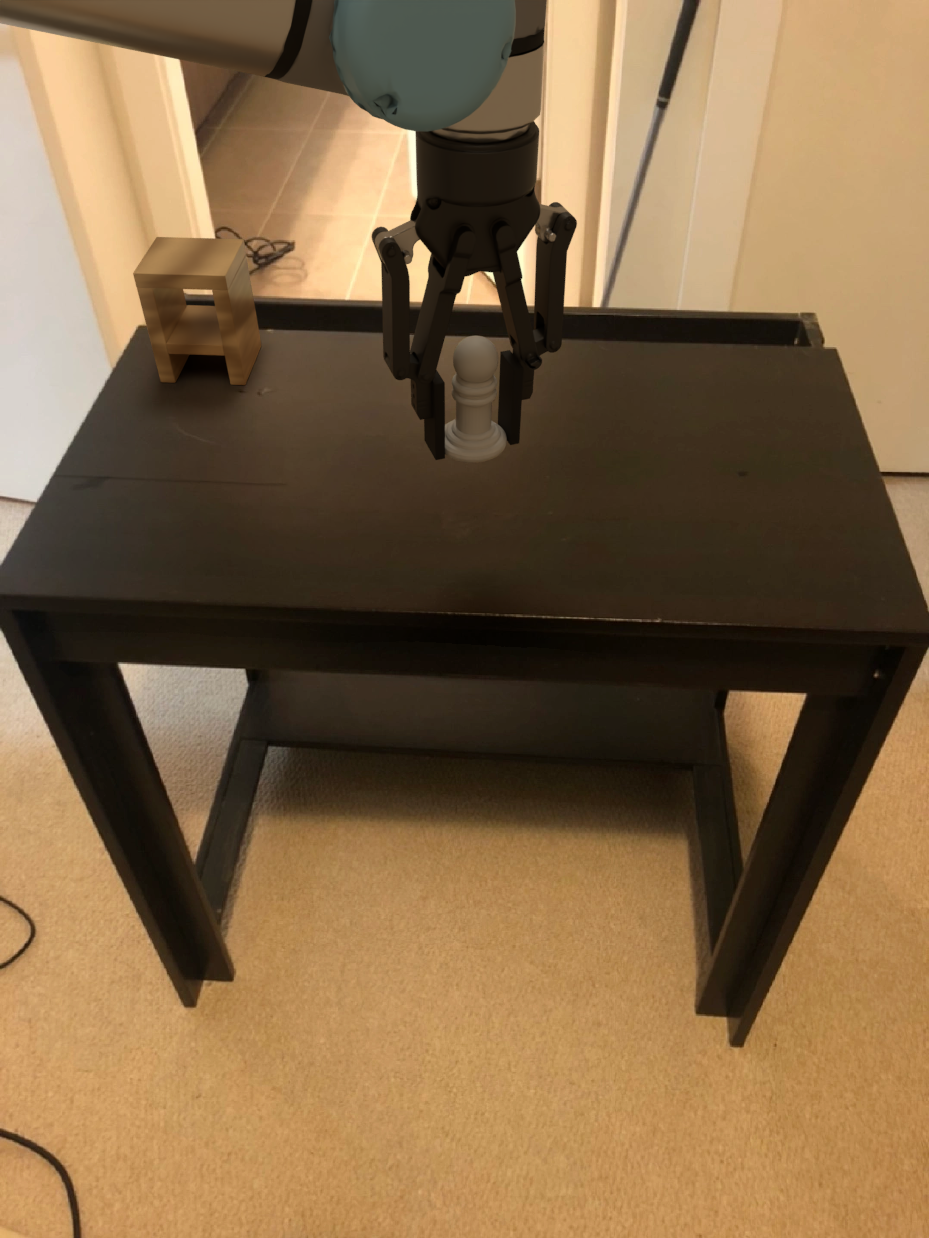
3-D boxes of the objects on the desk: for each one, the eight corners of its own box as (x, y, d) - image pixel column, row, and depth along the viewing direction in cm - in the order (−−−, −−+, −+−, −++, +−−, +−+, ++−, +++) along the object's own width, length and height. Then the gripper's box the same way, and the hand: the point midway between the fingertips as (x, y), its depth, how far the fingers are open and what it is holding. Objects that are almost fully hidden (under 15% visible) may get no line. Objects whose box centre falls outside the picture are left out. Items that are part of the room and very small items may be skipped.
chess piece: (507, 426, 77) (512, 321, 71) (506, 467, 74) (511, 360, 67) (439, 424, 78) (438, 319, 71) (435, 464, 74) (433, 357, 67)
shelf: (160, 382, 103) (132, 273, 94) (181, 343, 108) (156, 236, 100) (245, 385, 102) (225, 276, 94) (261, 346, 108) (243, 239, 99)
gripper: (590, 85, 64) (561, 395, 80) (313, 115, 59) (343, 437, 76) (642, 124, 59) (601, 446, 75) (345, 160, 54) (370, 494, 71)
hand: (471, 441), depth 75 cm, fingers closed on chess piece, 5 cm apart
